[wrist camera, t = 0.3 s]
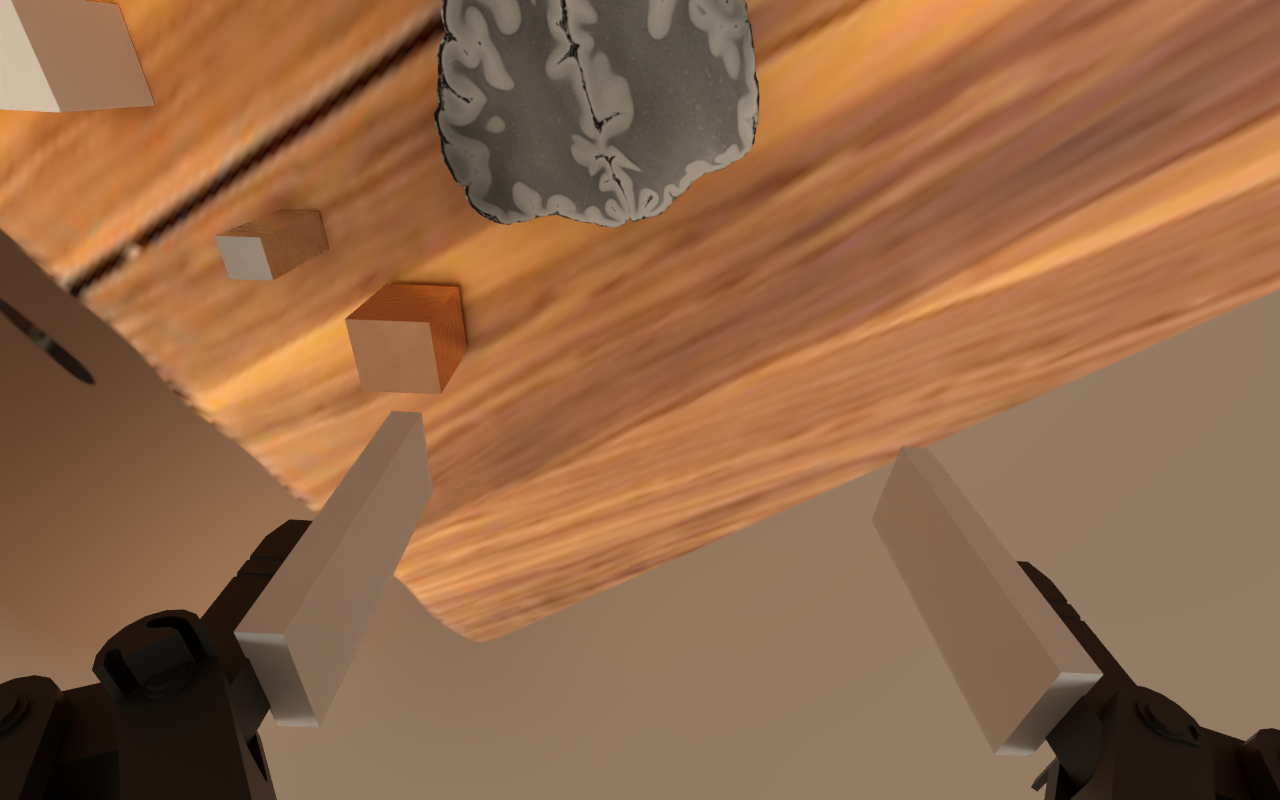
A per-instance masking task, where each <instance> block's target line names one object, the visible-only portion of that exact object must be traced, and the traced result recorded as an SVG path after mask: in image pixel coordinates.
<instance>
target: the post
mask: <svg viewBox="0 0 1280 800" xmlns="http://www.w3.org/2000/svg"><path fill="white" fill-rule="evenodd" d="M215 238H216V241H217V244H218V247H219V249H220V252H221V255H222V258H223V261H224V264H225V266H226V269H227V272H228V275H229V278H230V279H246V280H271V281H274V280H275V279H277V278H279V277H280V276H282V275H284V274H286V273H287V272H289V271H291V270H293V269H294V268H296V267H298V266H300V265H301V264H303V263H305V262H306V261H308V260H310V259H312V258H313V257H315V256H317V255H319V254H320V253H322V252H324V251H325V250H327V249H329V248H328V244H327V240H326V236H325V232H324V228H323V224H322V220H321V216H320V212H319V211H300V210H279V211H277V212H274V213H272V214H269V215H266V216H264V217H261V218H259V219H256V220H254V221H251V222H248V223H246V224H243V225H241V226H238V227H236V228H233V229H231V230H228V231H225V232H223V233H220V234H218V235H215Z"/></svg>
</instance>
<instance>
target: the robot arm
mask: <svg viewBox="0 0 1280 800" xmlns="http://www.w3.org/2000/svg"><path fill="white" fill-rule="evenodd" d="M432 493H433V491H432V484H431V477H430V470H429V463H428V456H427V448H426V441H425V434H424V427H423V420H422V413H417V412H402V411H392V412H391V413H390V414H389V416H388V417H387V419H386V420H385V421H384V423H383V424H382V426H381V427H380V428H379V430H378V431H377V433H376V434H375V435H374V437H373V438H372V440H371V441H370V442H369V444H368V445H367V446H366V448H365V449H364V451H363V452H362V453H361V455H360V456H359V458H358V459H357V460H356V462H355V463H354V465H353V466H352V467H351V469H350V470H349V472H348V473H347V474H346V476H345V477H344V479H343V480H342V481H341V483H340V484H339V486H338V487H337V488H336V490H335V491H334V493H333V494H332V495H331V497H330V498H329V500H328V501H327V502H326V504H325V505H324V507H323V508H322V509H321V511H320V512H319V514H318V515H317V516H316V518H315V519H314V520H313V521H307V520H288V521H287V522H285V523H284V524H283V525H281V526H280V527H278V528H277V529H276V530H274V531H273V532H271V533H270V534H268V535H267V536H266V537H265V538H264V539H263V541H262V542H261V543H260V545H259V546H258V547H257V548H256V550H255V551H254V552H253V553H252V555H251V556H250V560H247V561H246V562H245V564H244V565H243V566H242V567H241V569H240V570H239V571H238V572H237V576H236V577H233V579H232V580H231V581H230V582H229V584H228V585H227V586H226V587H225V589H224V590H223V591H222V592H221V594H220V595H219V596H218V597H217V599H216V600H215V601H214V602H213V604H212V605H211V606H210V607H209V609H208V610H207V611H206V613H205V614H204V615H203V616H202V618H201V619H199V617H198V616H197V614H195V613H192V612H189V611H186V610H166V611H162V612H159V613H155V614H152V615H148V616H145V617H143V618H141V619H139V620H137V621H135V622H133V623H132V624H130V625H128V626H126V627H124V628H123V629H122V630H121V631H119V632H118V633H117V634H115V635H114V636H113V637H112V638H110V639H109V640H108V641H107V642H106V644H105V645H104V646H103V647H102V649H101V650H100V651H99V652H98V654H97V655H96V658H95V661H94V665H93V668H92V671H93V672H94V673H95V675H96V676H97V678H98V679H99V680H100V682H101V683H98V684H92V685H89V686H84V687H79V688H75V689H70V690H66V691H61V690H60V689H59V687H58V686H57V685H56V684H55V683H54V682H53V681H52V680H51V678H48V677H41V676H36V675H34V676H28V677H22V678H15V679H12V680H10V681H7V682H5V683H2V684H0V800H277V799H276V795H275V791H274V787H273V784H272V780H271V776H270V772H269V768H268V764H267V761H266V757H265V753H264V749H263V745H262V742H261V738H260V736H259V734H258V732H257V729H258V728H259V726H260V724H261V722H262V721H263V719H264V717H265V716H266V714H267V712H268V710H269V709H270V711H271V713H272V715H273V717H274V719H275V721H276V723H277V725H278V726H279V725H280V726H302V727H320V725H321V723H322V721H323V719H324V717H325V715H326V712H327V711H328V709H329V707H330V704H331V702H332V700H333V698H334V696H335V694H336V692H337V690H338V688H339V686H340V683H341V682H342V680H343V677H344V675H345V673H346V671H347V669H348V667H349V665H350V663H351V661H352V659H353V657H354V655H355V652H356V650H357V648H358V646H359V644H360V642H361V640H362V638H363V636H364V634H365V632H366V630H367V628H368V625H369V623H370V621H371V619H372V617H373V615H374V613H375V611H376V609H377V607H378V605H379V603H380V601H381V599H382V597H383V594H384V592H385V590H386V588H387V586H388V584H389V582H390V580H391V578H392V576H393V574H394V572H395V570H396V567H397V565H398V563H399V561H400V559H401V557H402V555H403V553H404V551H405V549H406V547H407V545H408V543H409V540H410V538H411V536H412V534H413V532H414V530H415V528H416V526H417V524H418V522H419V520H420V518H421V516H422V513H423V511H424V509H425V507H426V505H427V503H428V501H429V499H430V497H431V495H432ZM872 522H873V524H874V525H875V528H876V530H877V531H878V533H879V535H880V537H881V539H882V541H883V543H884V545H885V547H886V549H887V551H888V552H889V554H890V556H891V558H892V560H893V562H894V564H895V566H896V568H897V570H898V572H899V574H900V575H901V577H902V579H903V581H904V583H905V585H906V587H907V589H908V591H909V593H910V595H911V596H912V598H913V600H914V602H915V604H916V606H917V608H918V610H919V611H920V613H921V616H922V617H923V619H924V621H925V623H926V625H927V627H928V629H929V631H930V633H931V635H932V636H933V638H934V640H935V642H936V644H937V646H938V648H939V650H940V652H941V654H942V656H943V658H944V659H945V661H946V663H947V665H948V667H949V669H950V671H951V673H952V675H953V677H954V678H955V680H956V682H957V684H958V686H959V688H960V690H961V692H962V694H963V696H964V697H965V699H966V701H967V703H968V705H969V707H970V709H971V711H972V713H973V715H974V717H975V718H976V720H977V722H978V724H979V726H980V728H981V730H982V732H983V734H984V736H985V738H986V739H987V741H988V743H989V745H990V747H991V749H992V751H993V753H994V754H998V755H1021V756H1022V755H1023V756H1031V755H1032V754H1033V753H1034V752H1035V751H1036V750H1037V749H1038V748H1039V746H1040V745H1041V744H1042V743H1043V742H1044V741H1045V740H1047V741H1048V743H1049V745H1050V746H1051V748H1052V750H1053V751H1054V753H1055V754H1056V756H1057V757H1056V758H1055V759H1054V760H1053V761H1052V762H1051V763H1050V764H1049V765H1048V766H1047V768H1046V769H1045V770H1044V771H1043V772H1042V773H1041V774H1040V775H1039V776H1038V777H1037V778H1036V780H1035V781H1034V783H1033V785H1032V787H1031V788H1033V789H1035V790H1036V791H1038V790H1039V789H1040V788H1041V787H1042V786H1043V785H1044V784H1046V783H1047V786H1046V792H1045V799H1044V800H1280V730H1277V729H1273V728H1270V729H1261V730H1259V731H1258V732H1257V733H1255V734H1254V735H1253V736H1252V737H1251V738H1249V739H1248V740H1247V741H1243V740H1240V739H1237V738H1234V737H1231V736H1228V735H1225V734H1222V733H1219V732H1215V731H1212V730H1210V729H1206V728H1203V727H1200V726H1199V725H1198V723H1197V722H1196V721H1195V719H1194V718H1193V717H1191V716H1190V715H1189V714H1188V713H1187V712H1186V711H1185V710H1184V709H1182V708H1181V707H1180V706H1179V705H1178V704H1176V703H1175V702H1173V701H1172V700H1170V699H1168V698H1167V697H1165V696H1164V695H1162V694H1160V693H1158V692H1155V691H1153V690H1151V689H1148V688H1146V687H1141V686H1137V685H1136V684H1135V683H1134V682H1133V681H1132V679H1131V678H1130V677H1129V676H1128V674H1126V672H1125V671H1124V670H1123V668H1122V667H1121V666H1120V665H1119V664H1118V662H1117V661H1116V660H1115V659H1114V658H1113V656H1112V655H1111V654H1110V652H1109V651H1108V650H1107V649H1106V647H1105V646H1104V645H1103V644H1102V643H1101V641H1100V640H1099V639H1098V638H1097V636H1096V635H1095V634H1094V633H1093V632H1092V630H1091V629H1090V628H1089V627H1088V626H1087V624H1086V623H1085V622H1084V621H1081V620H1080V616H1079V614H1078V613H1077V612H1076V611H1075V609H1074V608H1073V607H1072V606H1071V605H1070V604H1067V600H1066V598H1065V597H1064V596H1063V595H1062V593H1061V592H1060V591H1059V590H1058V589H1057V587H1056V586H1055V585H1054V584H1053V582H1052V581H1051V580H1050V579H1048V578H1047V577H1046V576H1045V575H1044V574H1042V573H1041V572H1040V571H1039V570H1037V569H1036V568H1035V567H1034V566H1032V565H1031V564H1030V563H1029V562H1021V561H1015V559H1014V558H1013V557H1012V555H1011V554H1010V553H1009V552H1008V550H1007V549H1006V548H1005V546H1004V545H1003V544H1002V543H1001V541H1000V540H999V539H998V537H997V536H996V535H995V533H994V532H993V531H992V530H991V528H990V527H989V526H988V524H987V523H986V522H985V521H984V519H983V518H982V517H981V515H980V514H979V513H978V512H977V510H976V509H975V508H974V506H973V505H972V504H971V502H970V501H969V500H968V499H967V497H966V496H965V495H964V493H963V492H962V491H961V490H960V488H959V487H958V486H957V484H956V483H955V482H954V481H953V479H952V478H951V477H950V475H949V474H948V473H947V472H946V470H945V469H944V468H943V466H942V465H941V464H940V462H939V461H938V460H937V459H936V458H935V456H934V455H933V453H932V452H931V451H930V450H929V449H928V448H918V447H903V446H902V447H901V449H900V452H899V454H898V457H897V459H896V462H895V464H894V466H893V469H892V471H891V474H890V476H889V478H888V481H887V483H886V486H885V488H884V491H883V493H882V495H881V498H880V500H879V503H878V505H877V507H876V510H875V512H874V515H873V517H872Z"/></svg>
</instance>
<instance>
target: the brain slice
mask: <svg viewBox="0 0 1280 800" xmlns="http://www.w3.org/2000/svg"><path fill="white" fill-rule="evenodd" d="M441 16H442V21H443V25H444V28H445V31H446V34H445V37H444V39H443V40H442V41H441V43H440V46H439V50H438V54H437V58H438V84H437V93H438V103H439V107H438V108H437V110H436V112H435V113H434V116H435V125H436V128H437V131H438V133H439V136H440V138H441V152H442V156H443V159H444V161H445V163H446V165H447V166H448V168H449V170H450V172H451V174H452V176H453V178H454V180H455V181H456V182H457V183H458V184H459V185H461V186H464V192H465V197H466V199H467V201H468V202H469V204H470V205H471V207H473V208H474V209H475V210H476V211H477V212H478V213H479V214H480V215H482V216H483V217H485V218H487V219H489V220H491V221H494V222H496V223H500V224H506V225H510V224H512V223H514V222H526V221H530V220H532V219H534V218H537V217H542V216H549V215H559V216H562V217H565V218H568V219H572V220H576V221H579V222H585V223H595V224H597V225H599V226H604V227H612V228H616V227H619V226H622V225H625V224H626V221H627V220H628V219H629V218H630V219H631V220H632V221H633V222H635V221H638V220H640V219H645V218H648V217H652V216H656V215H659V214H661V213H663V212H664V211H665V210H666V209H667V208H668V207H669V206H670V205H671V203H672V202H673V201H674V200H675V199H677V198H678V197H679V196H680V195H682V194H683V193H684V192H685V191H686V190H687V189H688V188H689V187H690V185H691V184H692V183H693V182H694V181H695V180H697V179H698V178H700V177H701V176H702V175H704V174H705V173H709V172H714V171H717V170H721V169H724V168H726V167H727V166H728V165H730V164H731V163H732V162H735V161H737V160H739V159H741V158H743V157H744V156H745V155H746V154H747V153H748V152H749V151H750V149H751V147H752V146H753V144H754V139H755V132H756V127H757V124H758V112H759V86H758V81H757V78H756V67H755V54H754V45H753V37H752V30H751V24H750V22H749V21H748V12H747V4H746V2H745V1H744V0H442V6H441Z"/></svg>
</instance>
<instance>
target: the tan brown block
mask: <svg viewBox="0 0 1280 800" xmlns="http://www.w3.org/2000/svg"><path fill="white" fill-rule="evenodd" d="M345 321H346V325H347V329H348V333H349V337H350V341H351V345H352V349H353V353H354V357H355V361H356V365H357V369H358V373H359V377H360V381H361V385H362V389H363V391H372V392H401V393H429V394H441V393H442V392H443V390H444V388H445V387H446V385H447V383H448V382H449V380H450V378H451V377H452V375H453V373H454V372H455V370H456V368H457V367H458V365H459V363H460V362H461V360H462V358H463V357H464V355H465V354H466V352H467V347H466V339H465V332H464V324H463V317H462V309H461V301H460V294H459V287H452V286H428V285H404V284H386V285H384V286H383V287H382V288H381V289H380V290H379V291H377V292H376V293H375V294H374V295H373V296H372V297H370V298H369V299H368V300H367V301H366V302H365V303H363V304H362V305H361V306H360V307H359V308H358V309H356V310H355V311H354V312H353V313H352V314H350V315H349V316H348V317H347V318H346V319H345Z"/></svg>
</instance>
